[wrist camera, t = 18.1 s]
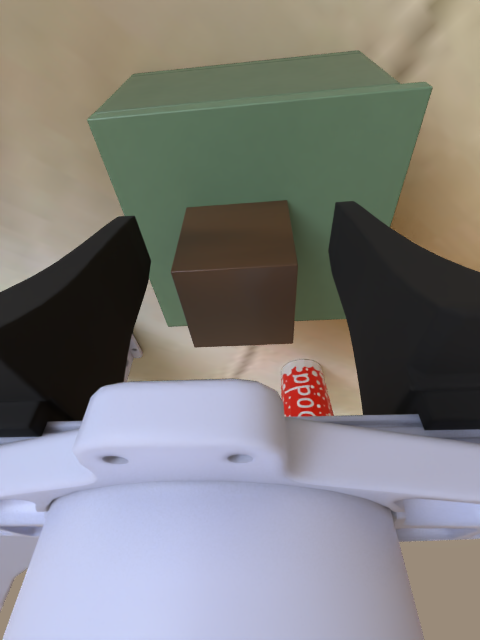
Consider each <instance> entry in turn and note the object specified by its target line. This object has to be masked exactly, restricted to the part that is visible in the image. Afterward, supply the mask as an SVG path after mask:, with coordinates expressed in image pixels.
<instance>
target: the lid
mask: <svg viewBox="0 0 480 640" xmlns="http://www.w3.org/2000/svg"><path fill="white" fill-rule="evenodd" d="M431 91H432V86H431V85H429V84H428V83H426V82H417V83H407V84H396V85H386V86H376V87H365V88H355V89H344V90H334V91H323V92H313V93H303V94H292V95H282V96H271V97H261V98H250V99H240V100H230V101H219V102H209V103H198V104H188V105H177V106H167V107H157V108H146V109H136V110H125V111H115V112H104V113H94V114H92V115H91V116H90V117H89V118H88V119H87V121H88V124H89V126H90V129H91V131H92V134H93V136H94V139H95V141H96V144H97V146H98V149H99V152H100V154H101V157H102V159H103V162H104V164H105V167H106V169H107V172H108V174H109V177H110V180H111V182H112V185H113V187H114V190H115V192H116V195H117V197H118V200H119V202H120V205H121V208H122V210H123V213H124V215H125V216H135V217H136V220H137V223H138V226H139V228H140V231H141V234H142V237H143V239H144V242H145V245H146V248H147V250H148V253H149V256H150V259H151V266H150V274H149V279H150V281H151V284H152V287H153V289H154V292H155V294H156V297H157V299H158V302H159V304H160V307H161V309H162V312H163V315H164V317H165V320H166V322H167V325H168V327H174V326H188V325H187V322H186V319H185V316H184V313H183V309H182V306H181V303H180V300H179V297H178V294H177V291H176V288H175V284H174V281H173V278H172V275H171V269H172V265H173V260H174V256H175V252H176V248H177V244H178V240H179V236H180V232H181V228H182V224H183V219H184V215H185V211H186V208H187V207H199V206H212V205H226V204H240V203H254V202H268V201H282V200H287V202H288V208H289V214H290V220H291V226H292V231H293V237H294V243H295V249H296V255H297V261H298V276H297V291H296V306H295V321H309V320H331V319H346V316H345V313H344V310H343V307H342V304H341V301H340V298H339V295H338V291H337V288H336V285H335V282H334V279H333V276H332V272H331V266H330V260H329V253H328V248H329V242H330V235H331V229H332V222H333V216H334V209H335V203H336V202H345V201H354V202H356V203H358V204H359V205H360V206H362V207H363V208H364V209H366V210H367V211H368V212H370V213H371V214H372V215H374V216H375V217H376V218H378V219H379V220H380V221H382V222H383V223H384V224H386V225H387V226H388V227H390V225H391V222H392V219H393V216H394V212H395V209H396V206H397V202H398V199H399V196H400V193H401V189H402V186H403V183H404V180H405V176H406V173H407V170H408V167H409V163H410V160H411V157H412V153H413V150H414V147H415V144H416V140H417V137H418V134H419V131H420V127H421V124H422V121H423V117H424V114H425V111H426V108H427V104H428V101H429V98H430V95H431Z"/></svg>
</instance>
